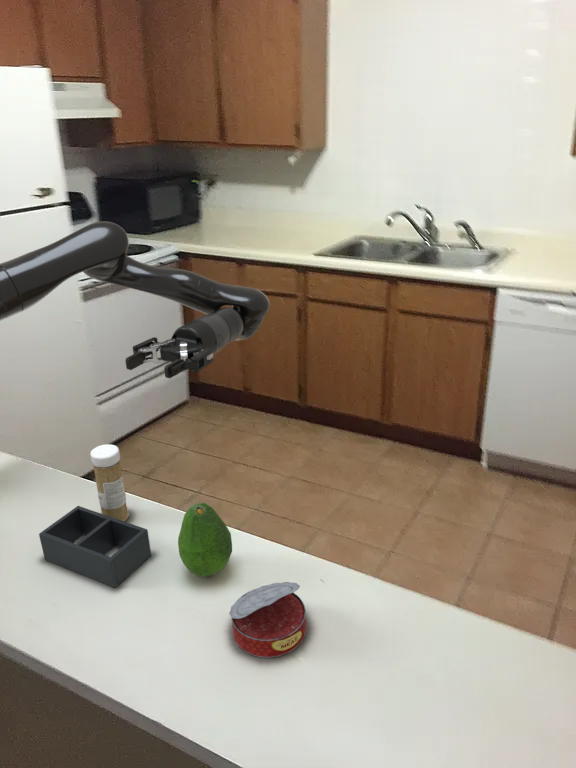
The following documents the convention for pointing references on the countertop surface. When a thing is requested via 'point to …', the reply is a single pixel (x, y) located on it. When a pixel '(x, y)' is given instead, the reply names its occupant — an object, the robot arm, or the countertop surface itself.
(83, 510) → the divided storage box
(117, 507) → the sprinkles bottle
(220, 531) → the avocado
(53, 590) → the countertop surface
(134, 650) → the countertop surface
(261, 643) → the canned food
